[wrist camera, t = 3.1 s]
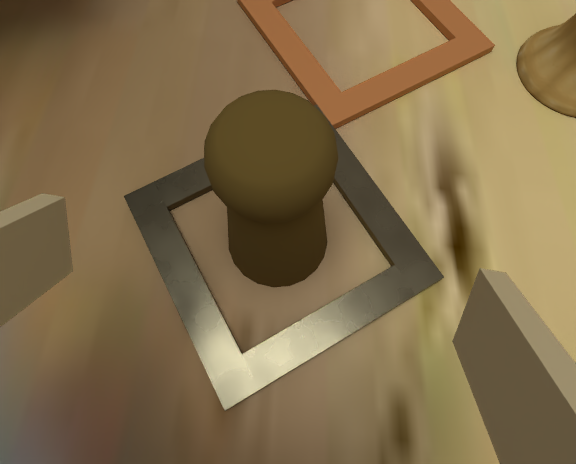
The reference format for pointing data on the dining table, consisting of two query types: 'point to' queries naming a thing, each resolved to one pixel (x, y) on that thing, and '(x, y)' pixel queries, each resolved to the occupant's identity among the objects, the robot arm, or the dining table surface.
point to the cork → (273, 183)
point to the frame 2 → (310, 330)
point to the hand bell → (551, 66)
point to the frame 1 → (383, 87)
